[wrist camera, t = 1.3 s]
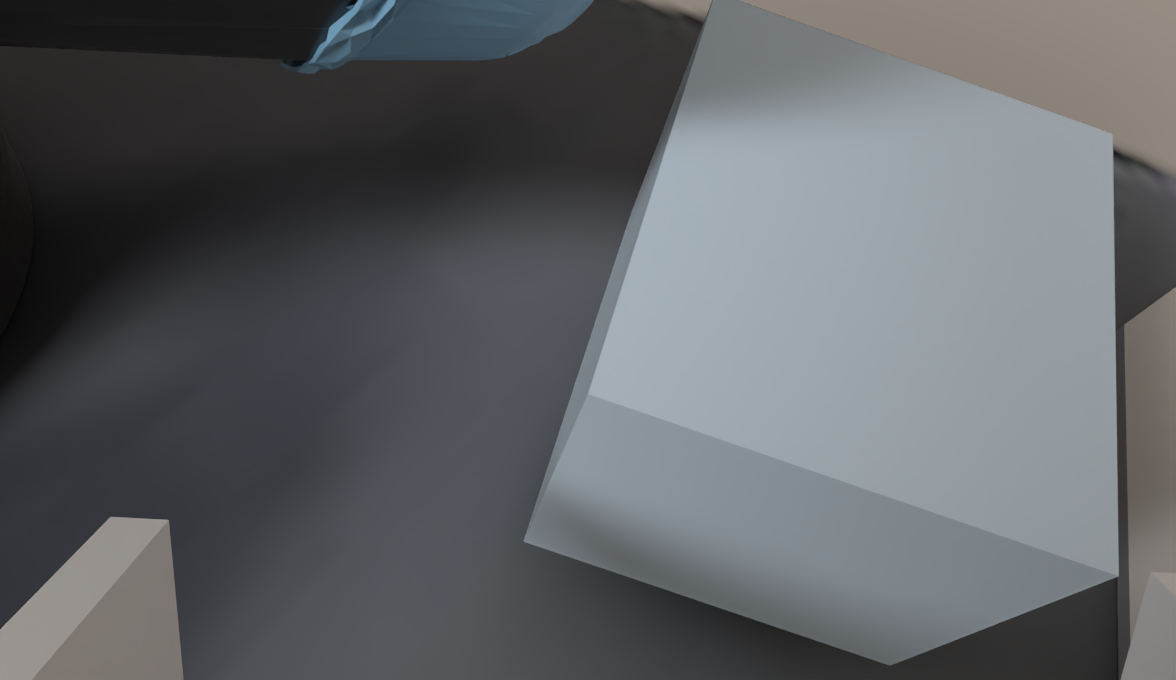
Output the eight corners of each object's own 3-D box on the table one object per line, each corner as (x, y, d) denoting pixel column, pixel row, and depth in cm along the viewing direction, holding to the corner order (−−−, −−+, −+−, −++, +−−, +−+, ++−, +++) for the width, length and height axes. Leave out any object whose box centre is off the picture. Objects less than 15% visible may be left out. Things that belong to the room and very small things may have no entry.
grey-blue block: (612, 262, 29) (715, -8, 20) (888, 358, 29) (1112, 133, 20) (510, 570, 24) (588, 393, 15) (845, 683, 24) (1119, 576, 15)
